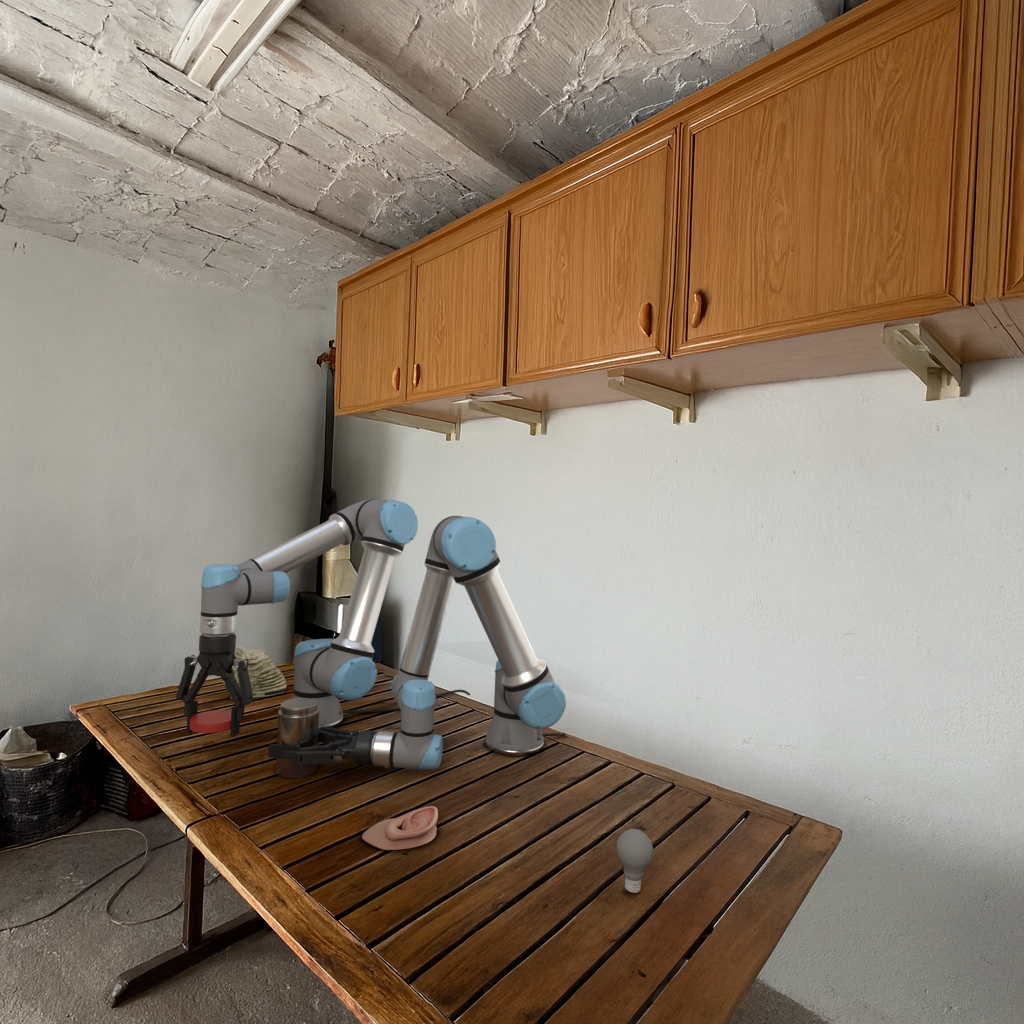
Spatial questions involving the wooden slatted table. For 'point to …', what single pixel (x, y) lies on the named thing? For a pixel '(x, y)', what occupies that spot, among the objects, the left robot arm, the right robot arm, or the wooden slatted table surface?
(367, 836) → the anatomical model
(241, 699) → the left robot arm
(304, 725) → the jar
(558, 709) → the right robot arm
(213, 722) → the lid
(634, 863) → the light bulb
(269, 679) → the fossil
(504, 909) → the wooden slatted table surface
